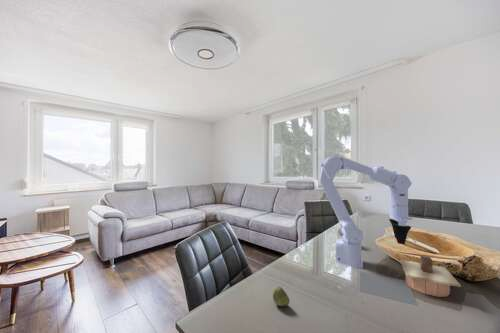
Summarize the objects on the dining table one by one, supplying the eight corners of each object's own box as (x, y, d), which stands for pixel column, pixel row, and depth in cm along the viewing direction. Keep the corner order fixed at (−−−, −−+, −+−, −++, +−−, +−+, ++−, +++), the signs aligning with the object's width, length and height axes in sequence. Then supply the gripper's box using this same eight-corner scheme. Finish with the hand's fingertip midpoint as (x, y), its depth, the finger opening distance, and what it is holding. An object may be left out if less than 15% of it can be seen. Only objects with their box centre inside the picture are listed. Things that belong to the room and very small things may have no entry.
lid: (406, 276, 62) (406, 261, 62) (400, 261, 73) (399, 248, 73) (460, 287, 56) (460, 270, 56) (444, 268, 67) (444, 254, 67)
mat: (359, 292, 62) (359, 291, 62) (359, 272, 74) (359, 271, 74) (417, 307, 55) (417, 305, 55) (407, 282, 67) (407, 281, 67)
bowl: (410, 292, 62) (409, 276, 62) (403, 277, 71) (403, 262, 71) (455, 302, 57) (454, 284, 57) (442, 284, 66) (441, 269, 66)
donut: (354, 247, 99) (354, 226, 99) (349, 248, 98) (348, 227, 98) (340, 240, 108) (340, 222, 108) (335, 241, 107) (334, 222, 108)
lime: (274, 298, 59) (274, 281, 59) (291, 302, 57) (291, 284, 58) (270, 308, 55) (270, 289, 55) (288, 312, 53) (288, 293, 53)
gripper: (416, 209, 70) (416, 248, 70) (408, 203, 83) (409, 236, 82) (391, 207, 74) (392, 245, 73) (387, 202, 86) (388, 234, 86)
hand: (399, 240), depth 78 cm, fingers open, 7 cm apart
